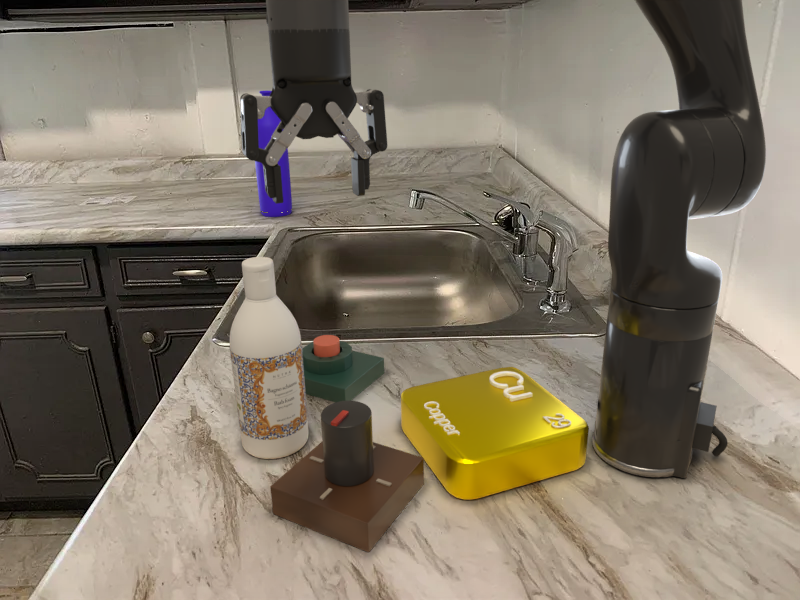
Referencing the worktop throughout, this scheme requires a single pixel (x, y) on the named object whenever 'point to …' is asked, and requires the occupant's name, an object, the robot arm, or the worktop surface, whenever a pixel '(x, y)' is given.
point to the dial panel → (349, 496)
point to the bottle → (264, 136)
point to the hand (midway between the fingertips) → (319, 198)
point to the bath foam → (267, 367)
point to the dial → (347, 442)
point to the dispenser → (339, 373)
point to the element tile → (492, 431)
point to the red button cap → (326, 346)
